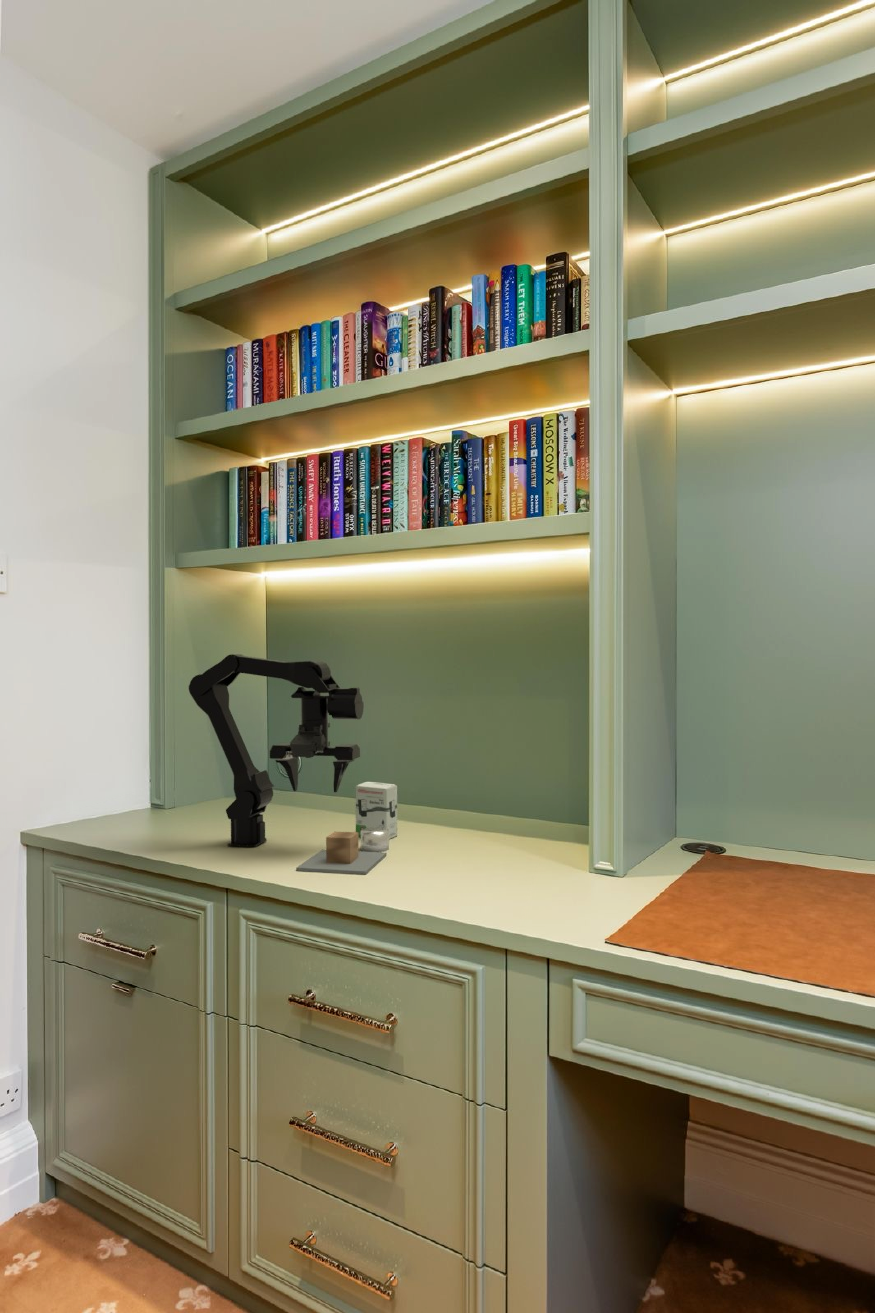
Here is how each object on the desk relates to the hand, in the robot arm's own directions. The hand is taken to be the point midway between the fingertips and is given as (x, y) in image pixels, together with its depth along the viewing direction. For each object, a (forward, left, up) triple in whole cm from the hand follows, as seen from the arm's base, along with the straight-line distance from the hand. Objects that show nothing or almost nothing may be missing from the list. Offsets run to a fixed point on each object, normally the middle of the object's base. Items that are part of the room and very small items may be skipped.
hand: (315, 791), depth 172 cm
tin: (+13, +1, -12) cm, 18 cm away
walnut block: (+10, -11, -11) cm, 19 cm away
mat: (+10, -11, -12) cm, 19 cm away
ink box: (+10, +12, -12) cm, 20 cm away
